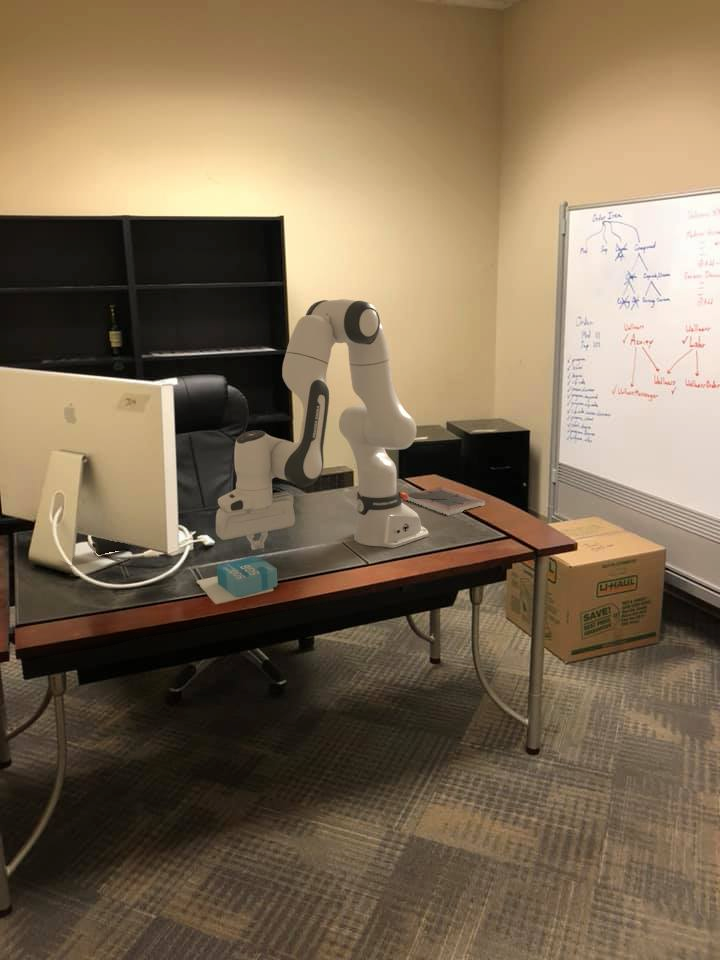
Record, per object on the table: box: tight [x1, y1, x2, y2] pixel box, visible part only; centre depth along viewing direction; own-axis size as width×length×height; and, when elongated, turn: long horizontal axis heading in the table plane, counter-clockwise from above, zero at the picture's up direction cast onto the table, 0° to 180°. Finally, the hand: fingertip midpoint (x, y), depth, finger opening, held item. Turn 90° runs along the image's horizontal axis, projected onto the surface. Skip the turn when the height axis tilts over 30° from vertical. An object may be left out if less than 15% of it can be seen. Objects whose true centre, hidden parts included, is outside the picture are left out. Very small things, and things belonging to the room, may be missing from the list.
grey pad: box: [196, 575, 275, 605], centre depth 188 cm, size 15×15×1 cm
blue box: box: [216, 556, 279, 597], centre depth 187 cm, size 12×4×12 cm
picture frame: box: [406, 486, 486, 517], centre depth 251 cm, size 16×2×22 cm
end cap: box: [90, 536, 134, 555], centre depth 211 cm, size 10×7×7 cm
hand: (257, 548), depth 188 cm, fingers closed
